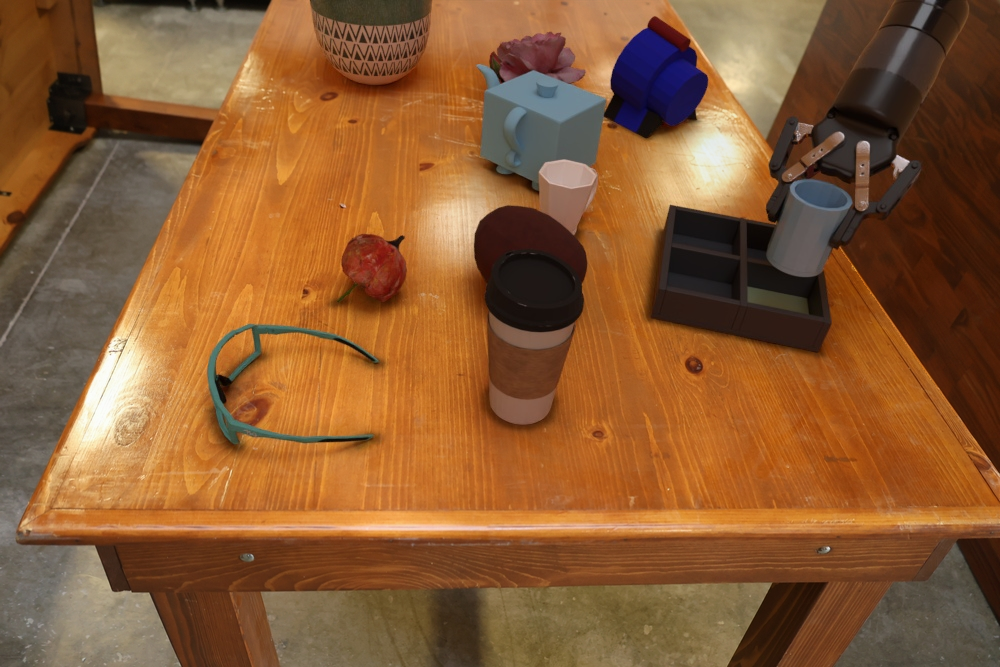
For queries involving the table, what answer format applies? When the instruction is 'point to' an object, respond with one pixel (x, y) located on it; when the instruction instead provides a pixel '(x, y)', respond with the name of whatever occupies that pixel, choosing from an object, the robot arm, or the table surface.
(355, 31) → the planter
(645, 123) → the alarm clock
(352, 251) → the pomegranate
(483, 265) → the dark brown oval ball
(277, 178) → the table surface
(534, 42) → the flower
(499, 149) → the teapot
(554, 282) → the coffee cup
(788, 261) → the blue cup
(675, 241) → the black divided tray
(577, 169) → the cup
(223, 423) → the sunglasses
